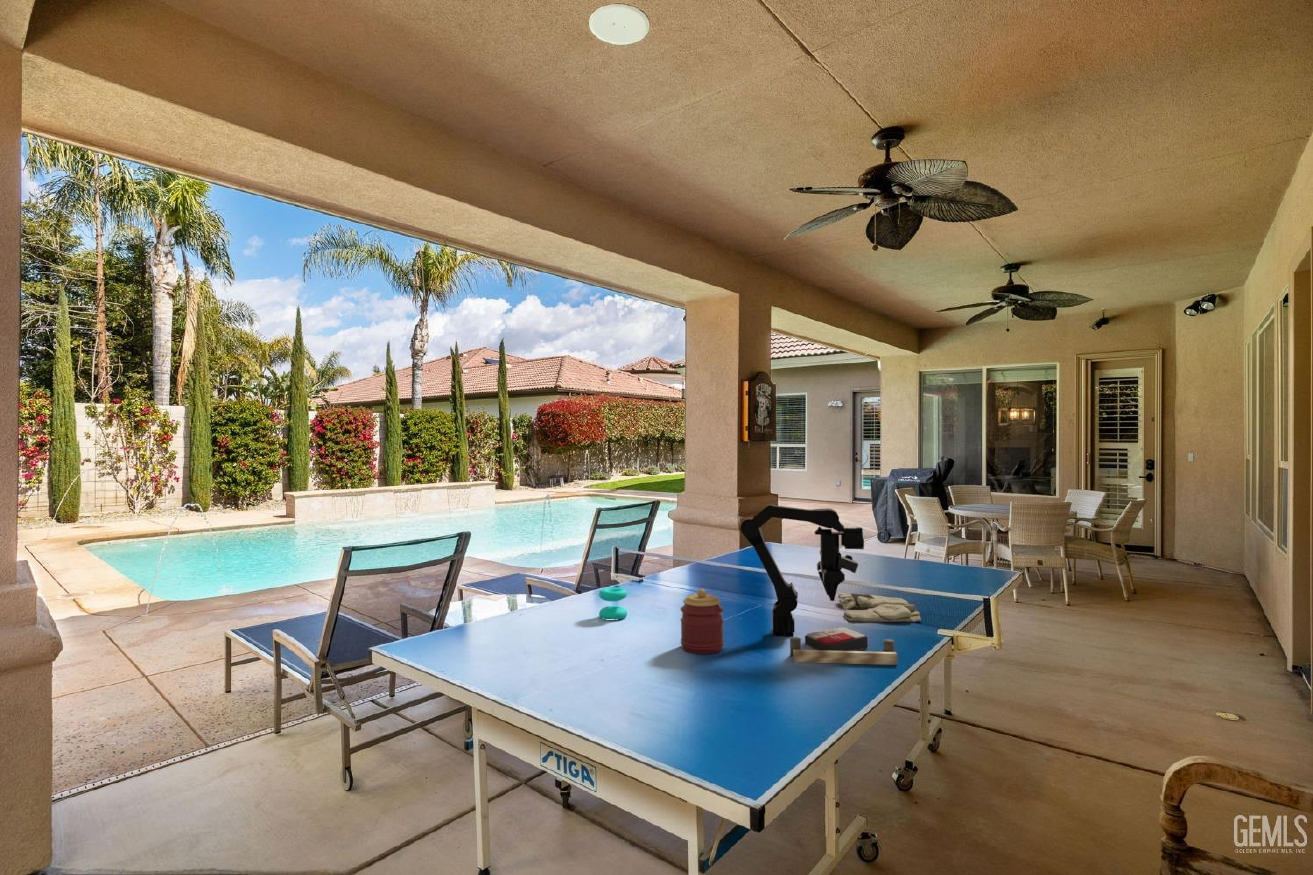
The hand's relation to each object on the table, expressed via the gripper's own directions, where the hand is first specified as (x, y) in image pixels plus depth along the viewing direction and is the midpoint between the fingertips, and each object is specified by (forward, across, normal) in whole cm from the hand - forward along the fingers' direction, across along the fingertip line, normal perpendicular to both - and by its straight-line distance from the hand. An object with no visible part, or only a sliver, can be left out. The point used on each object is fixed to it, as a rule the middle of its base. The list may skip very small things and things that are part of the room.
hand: (830, 597), depth 208 cm
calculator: (+13, -10, 0) cm, 16 cm away
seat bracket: (+12, -23, 0) cm, 26 cm away
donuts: (+12, +16, +73) cm, 76 cm away
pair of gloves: (+13, +31, -21) cm, 39 cm away
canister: (+12, -16, +40) cm, 45 cm away
